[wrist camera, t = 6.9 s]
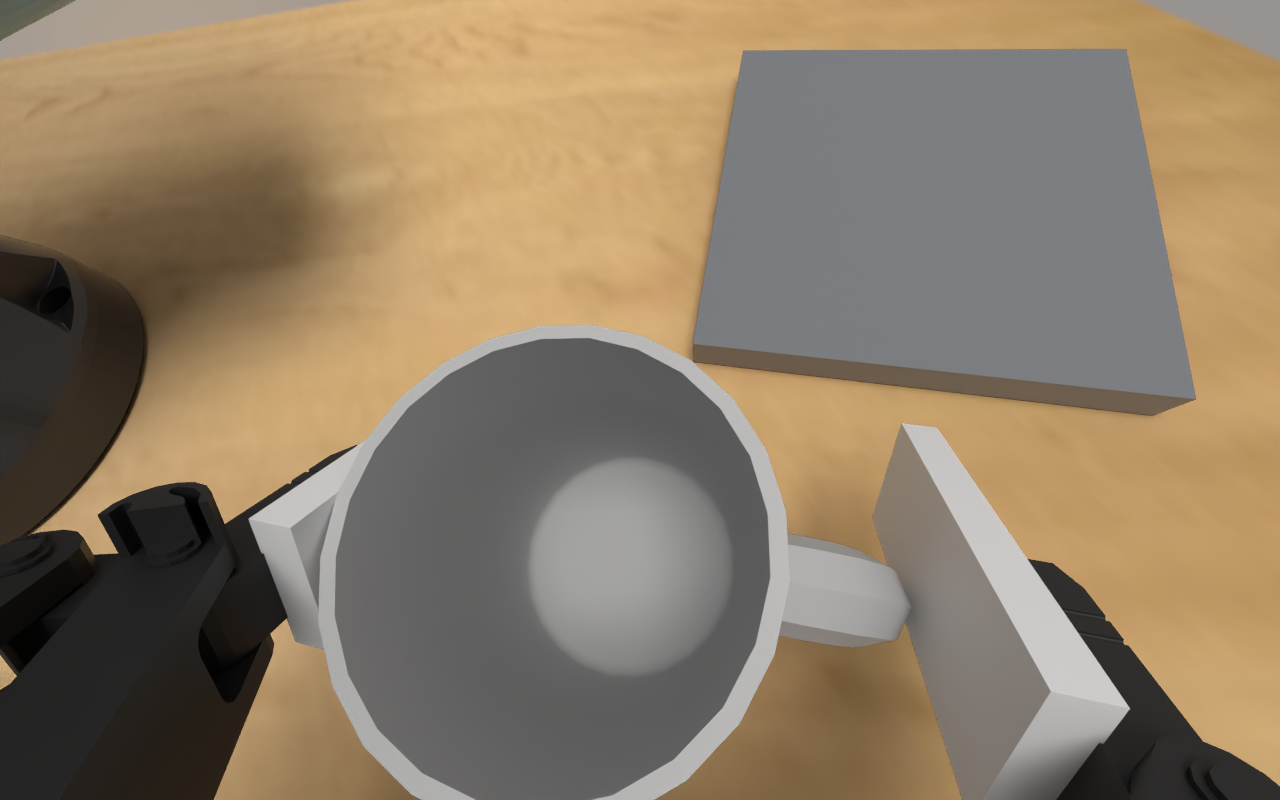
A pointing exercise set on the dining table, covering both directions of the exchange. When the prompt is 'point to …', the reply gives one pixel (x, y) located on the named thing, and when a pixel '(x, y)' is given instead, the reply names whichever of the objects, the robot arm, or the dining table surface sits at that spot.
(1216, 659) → the dining table surface
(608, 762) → the cup
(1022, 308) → the slate tile
